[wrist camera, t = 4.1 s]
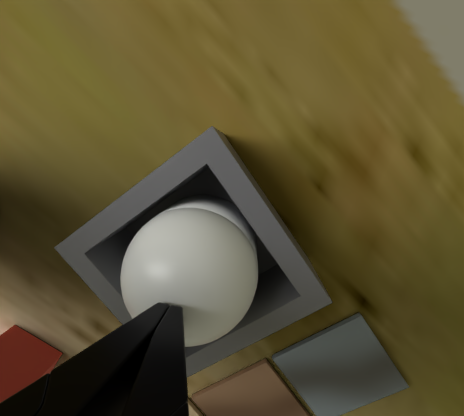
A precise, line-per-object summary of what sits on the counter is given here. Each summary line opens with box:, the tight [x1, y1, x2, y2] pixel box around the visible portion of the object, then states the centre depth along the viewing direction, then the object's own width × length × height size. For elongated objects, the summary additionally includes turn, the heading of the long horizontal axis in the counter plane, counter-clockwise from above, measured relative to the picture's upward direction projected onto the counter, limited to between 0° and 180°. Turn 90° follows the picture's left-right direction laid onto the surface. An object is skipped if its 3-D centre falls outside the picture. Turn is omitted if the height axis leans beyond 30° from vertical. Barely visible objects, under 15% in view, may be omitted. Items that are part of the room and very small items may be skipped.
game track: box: [188, 313, 409, 416], centre depth 17 cm, size 6×20×1 cm, turn 125°
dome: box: [120, 195, 258, 347], centre depth 11 cm, size 6×6×6 cm
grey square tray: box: [54, 126, 333, 377], centre depth 12 cm, size 9×9×4 cm
